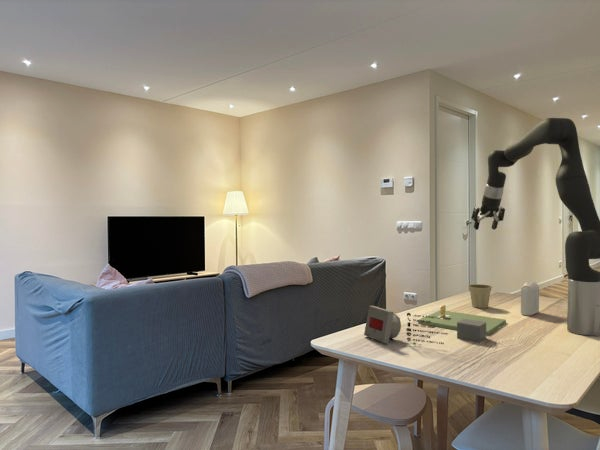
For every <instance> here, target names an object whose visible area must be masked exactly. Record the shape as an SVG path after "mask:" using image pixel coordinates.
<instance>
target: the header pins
mask: <svg viewBox="0 0 600 450" xmlns="http://www.w3.org/2000/svg"><path fill="white" fill-rule="evenodd" d="M446 306H447V305H446V304H443V305H440V307H439V308H440V310H439V311H440V317H441V318H443V317H444V316H446V311H447V309H446Z"/></svg>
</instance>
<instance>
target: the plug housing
mask: <svg viewBox="0 0 600 450" xmlns="http://www.w3.org/2000/svg"><path fill="white" fill-rule="evenodd" d="M456 338H457V339H459V340H460V339H461V340H465V341H470V342H477V343H481V342H482V341H484V340H485V339H487V335H486V322H482V321H475V320H469V319H463V320H461V321H459V322H457V330H456Z"/></svg>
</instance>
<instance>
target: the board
mask: <svg viewBox="0 0 600 450" xmlns="http://www.w3.org/2000/svg"><path fill="white" fill-rule="evenodd" d="M428 316H433V317H434V318H428ZM425 317H427V318H425ZM438 318H440V310H437V311H435V312H433V313H430V314H429V315H425V316H424V317H420V318H419V319H417V320H418V322H417V323H418V324H420V325H426V326H427V325H428V326H435V327H436V328H442V329H450V330H455V331H457V322H459V321H461V320H463V319H469V320H475V321H482V322H486V336H489V335H491V334H492V333H494V332H495V331H497V330H498V329H499V328H500V327H502V326H504V325H505V324H506V323H507V319H505V318H496V317H491V316H484V315H479V314H478V315H477V314H471V313H470V314H469V313H464V312H456V311H450V310H446V316H444V318H445V319H444V318H440V319H438ZM449 318H451V320H449ZM420 320H422V321H423V320H424V322H420ZM426 321H427V323H426ZM428 321H430V322H431V323H429V322H428Z"/></svg>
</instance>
